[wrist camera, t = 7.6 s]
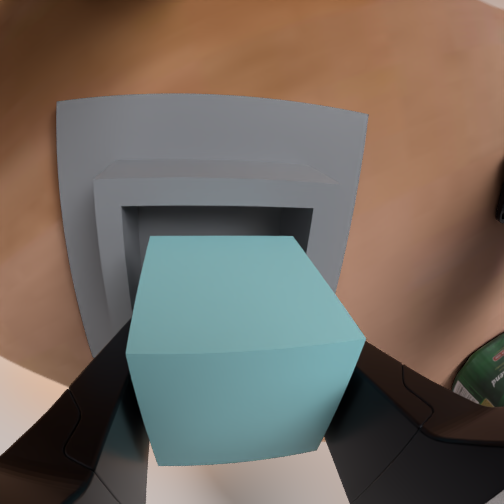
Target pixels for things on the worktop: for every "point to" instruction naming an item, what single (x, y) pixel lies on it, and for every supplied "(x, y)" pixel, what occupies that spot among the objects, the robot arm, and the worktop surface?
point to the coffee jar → (483, 375)
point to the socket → (197, 184)
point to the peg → (236, 349)
